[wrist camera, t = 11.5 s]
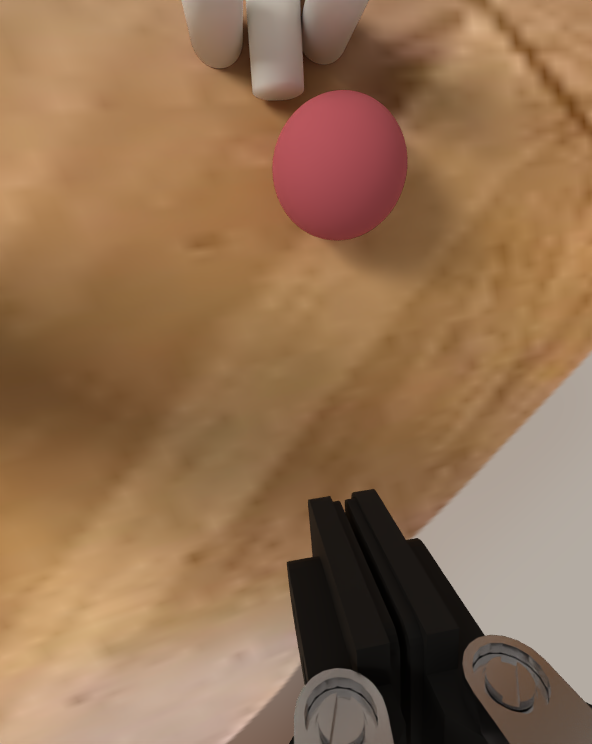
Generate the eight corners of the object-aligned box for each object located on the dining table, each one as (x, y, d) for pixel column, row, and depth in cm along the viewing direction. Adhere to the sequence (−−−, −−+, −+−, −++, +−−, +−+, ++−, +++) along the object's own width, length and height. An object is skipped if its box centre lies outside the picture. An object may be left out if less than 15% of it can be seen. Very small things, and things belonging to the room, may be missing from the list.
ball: (320, 80, 19) (298, 206, 23) (255, 70, 15) (240, 229, 19) (441, 109, 18) (396, 240, 22) (408, 108, 13) (359, 274, 17)
